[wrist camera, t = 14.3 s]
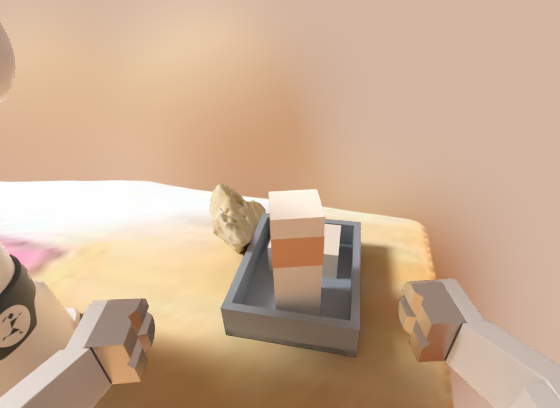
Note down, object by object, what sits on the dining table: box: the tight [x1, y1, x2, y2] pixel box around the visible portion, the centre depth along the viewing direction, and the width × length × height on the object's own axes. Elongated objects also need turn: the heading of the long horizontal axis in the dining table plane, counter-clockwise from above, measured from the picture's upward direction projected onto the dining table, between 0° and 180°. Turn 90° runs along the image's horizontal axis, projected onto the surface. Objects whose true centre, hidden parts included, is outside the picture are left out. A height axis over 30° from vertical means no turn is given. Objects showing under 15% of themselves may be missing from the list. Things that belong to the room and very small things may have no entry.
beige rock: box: [210, 184, 265, 253], centre depth 55 cm, size 15×7×15 cm
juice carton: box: [269, 189, 325, 316], centre depth 39 cm, size 6×6×16 cm
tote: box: [221, 213, 361, 357], centre depth 46 cm, size 16×20×5 cm
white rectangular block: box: [268, 224, 341, 279], centre depth 49 cm, size 10×7×4 cm
